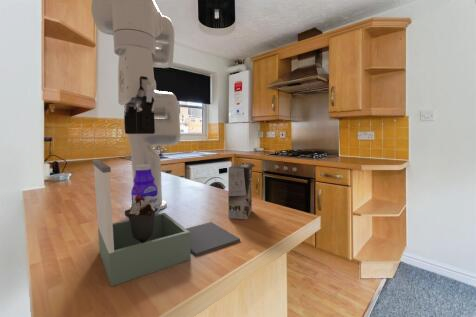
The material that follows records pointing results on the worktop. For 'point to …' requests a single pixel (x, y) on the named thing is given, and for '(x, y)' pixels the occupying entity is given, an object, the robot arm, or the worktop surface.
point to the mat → (209, 238)
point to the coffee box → (240, 191)
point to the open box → (120, 235)
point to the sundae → (141, 218)
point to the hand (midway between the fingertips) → (139, 133)
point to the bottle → (145, 185)
